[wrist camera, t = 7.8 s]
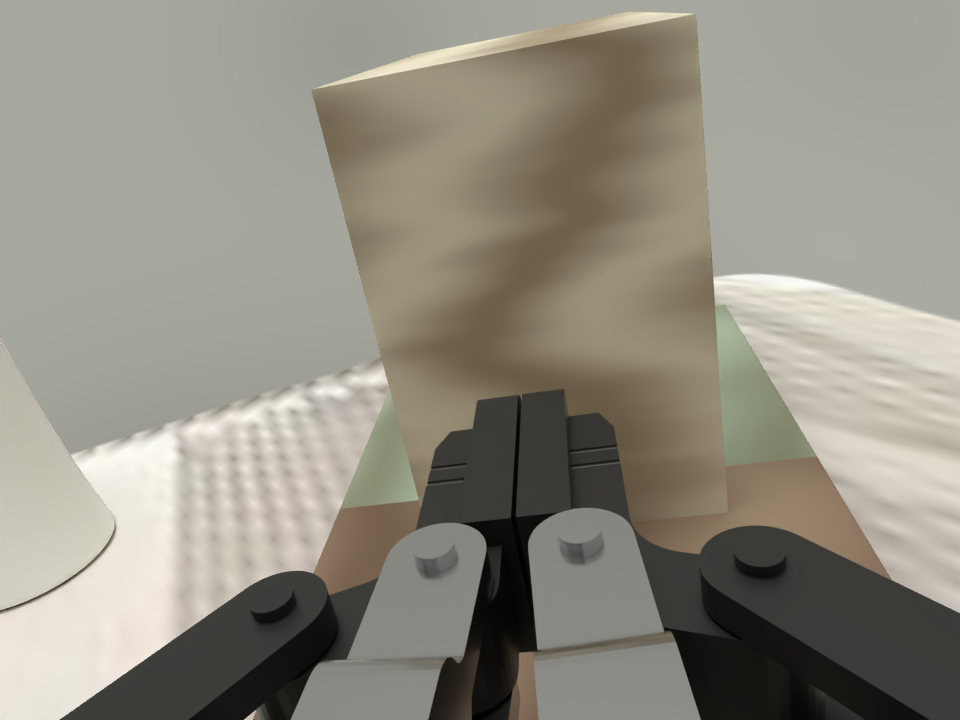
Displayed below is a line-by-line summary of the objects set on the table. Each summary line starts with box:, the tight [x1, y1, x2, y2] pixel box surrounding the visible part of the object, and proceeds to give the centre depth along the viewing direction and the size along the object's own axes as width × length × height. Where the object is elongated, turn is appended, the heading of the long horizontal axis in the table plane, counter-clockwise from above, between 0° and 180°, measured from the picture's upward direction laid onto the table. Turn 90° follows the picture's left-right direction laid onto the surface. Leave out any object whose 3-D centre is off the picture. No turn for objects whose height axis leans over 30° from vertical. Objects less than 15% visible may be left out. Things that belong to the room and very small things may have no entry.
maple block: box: [312, 12, 728, 522], centre depth 24 cm, size 8×14×12 cm, turn 174°
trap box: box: [253, 305, 891, 720], centre depth 20 cm, size 14×30×2 cm, turn 175°
